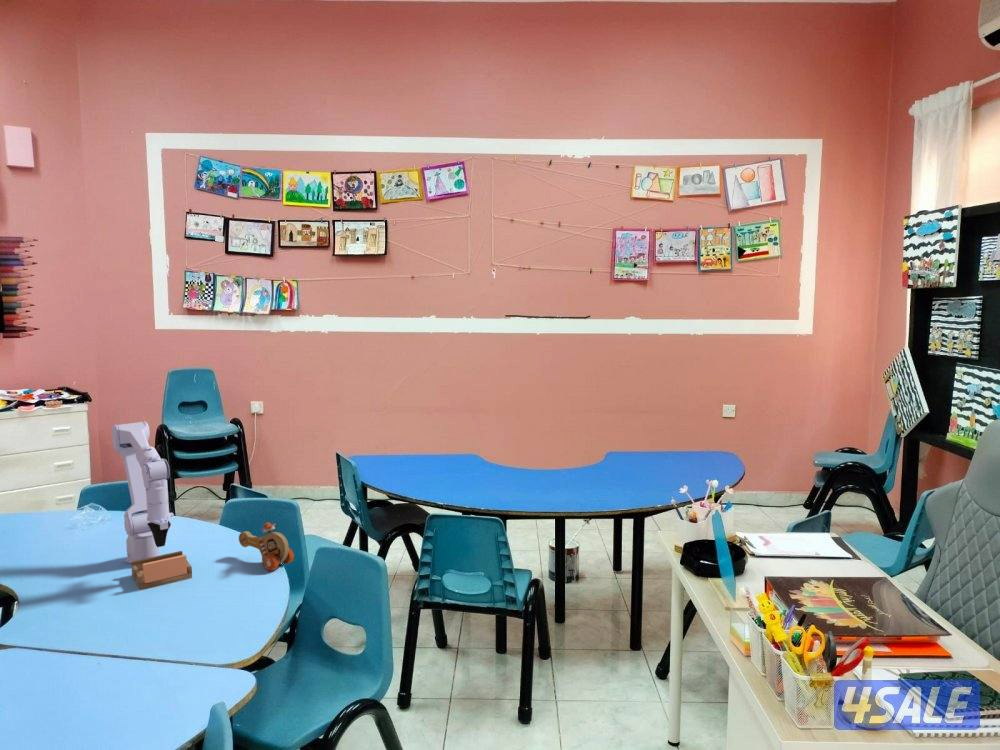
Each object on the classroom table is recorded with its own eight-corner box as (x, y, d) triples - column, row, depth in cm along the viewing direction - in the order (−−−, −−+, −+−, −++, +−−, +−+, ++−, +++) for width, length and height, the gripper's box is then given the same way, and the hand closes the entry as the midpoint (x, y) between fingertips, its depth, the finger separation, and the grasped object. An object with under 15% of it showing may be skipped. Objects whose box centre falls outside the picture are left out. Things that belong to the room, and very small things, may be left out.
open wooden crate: (132, 576, 206) (131, 561, 206) (182, 564, 215) (181, 550, 214) (140, 590, 197) (139, 575, 196) (192, 577, 205) (191, 563, 205)
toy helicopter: (276, 573, 209) (275, 530, 207) (230, 559, 219) (228, 517, 217) (297, 564, 216) (295, 521, 214) (251, 550, 226) (249, 510, 224)
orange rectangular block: (143, 582, 198) (142, 563, 198) (186, 572, 205) (185, 554, 204) (144, 583, 197) (143, 565, 197) (187, 573, 204) (186, 555, 203)
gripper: (178, 505, 199) (181, 550, 201) (166, 492, 210) (169, 535, 212) (151, 510, 195) (154, 556, 196) (141, 497, 206) (144, 540, 208)
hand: (160, 545), depth 204 cm, fingers closed
